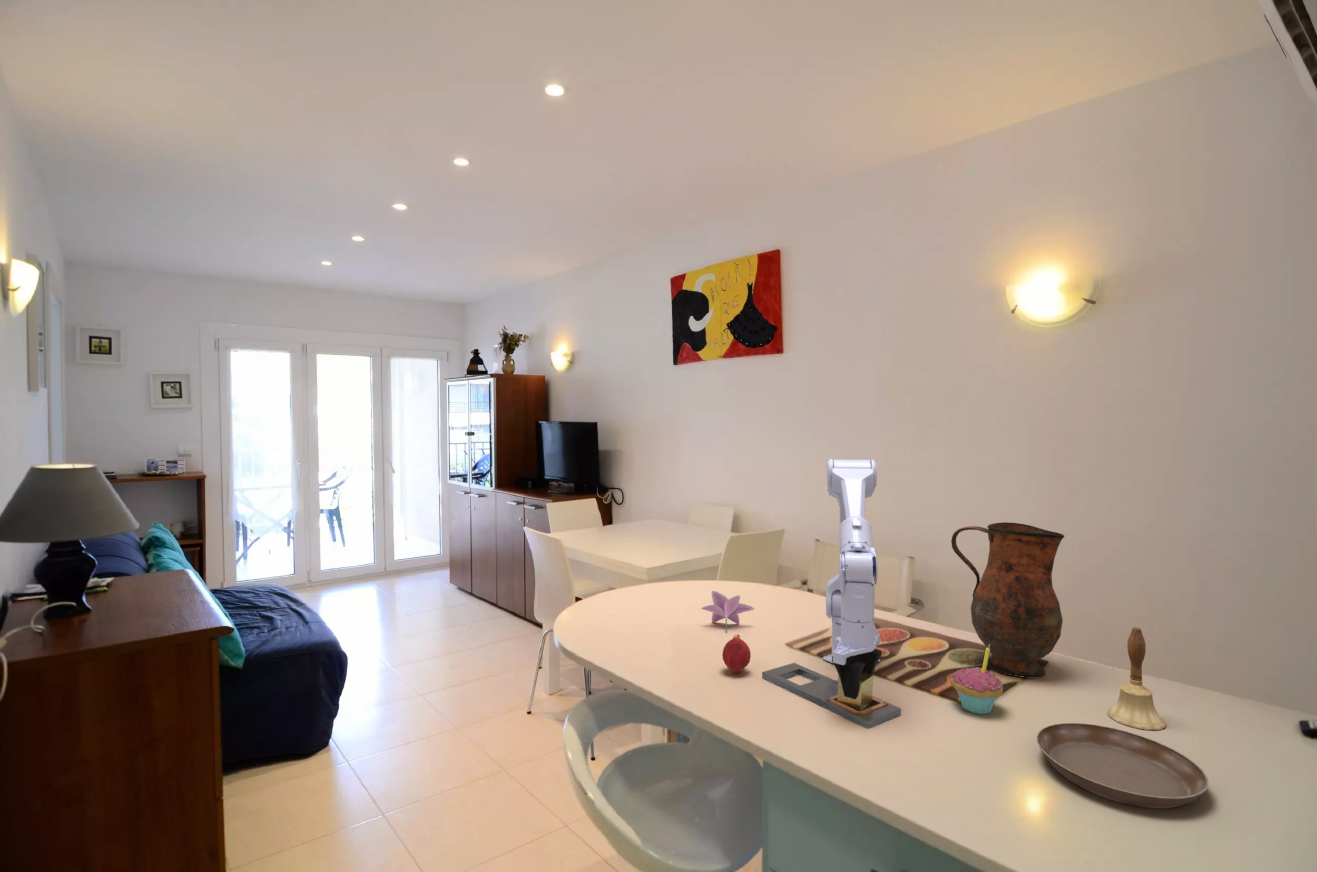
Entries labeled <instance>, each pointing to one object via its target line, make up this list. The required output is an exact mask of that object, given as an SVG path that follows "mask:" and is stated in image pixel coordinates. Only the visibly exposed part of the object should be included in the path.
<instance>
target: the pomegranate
mask: <svg viewBox="0 0 1317 872" xmlns="http://www.w3.org/2000/svg"><path fill="white" fill-rule="evenodd" d="M751 654H752V653H751V649H750V646H749V645H748V644H747V643H746V642H745V641H744V640H743V639H741V635H740V634H739V633H736V634H734V636H733V637H732V639H730V640H728V641H727V642H726V643H725V645H724V646H723V649H722V654H721V655H722V660H723V663H724V664H725V666H726V667H727V668H728V669H729V670H731V671H732V672H733V673H735V674H738V673H740V672H741V671H742V670H744V669H745V668H747V666H748V665H749V663H750V661H751V657H752V656H751Z"/></svg>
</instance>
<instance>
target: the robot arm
mask: <svg viewBox="0 0 1317 872" xmlns="http://www.w3.org/2000/svg"><path fill="white" fill-rule="evenodd" d="M877 467H878V466H877V461H875V460H874V459H873V458H872V459H871V458H870V459H833V458H829V460H828V461H827V462H826V485H827V492H828V496H830V497H833V498H835V499H836V500H837V503H838V507H839V556H838V573H837V574H836V575H835V576H833V577H832V578H830V579H829V580H827V583H826V590H825V616H826V617H827V619H831V654H828V655H826V656H825V655H824V656H823V657H822V659H823V660H824V661H826V662H828V663H831V664H833V666H834V667H835V670H836V671H837V674H838V676H839V677H840V680H841V684H842V688H843V692H844V696H845V697H848V698H852V699H856V698H857V694H858V689H859V681H860V676H861V673H862V671H863V672H866V673H869V674H872V675H873V676H874V673H875V670H876V667H877V664H878V663H879V662H881V659H880V658H881V657H882V655H883V654H882V653H883V651H882V650H881V649H878V646H879V645H880V644H881V643H880V642H881V634H880V633H878V631H877V628H876V625H875V586H876V585H877V583H878V577H879V564H878V563H879V562H878V556H877V553H876V548H875V547H874V543H873V533H872V532H873V531H872V525H871V523H870V522H869V520H867V519H865V503H866V500H865V499H869V498H871V497H873V495H874V494H873V493H875V490H876V487H877V481H878V468H877ZM873 582H874V583H873Z"/></svg>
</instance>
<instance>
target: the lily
mask: <svg viewBox="0 0 1317 872" xmlns="http://www.w3.org/2000/svg"><path fill="white" fill-rule="evenodd" d="M711 599H712V602H713V603H712V604H708V605H705V606H702V607H701V608H700V609H701V610H703V611H707V612H710V613H712V615H711V623H716V622H719V621H721V620H724V619H725V633H726V634H728V622H727V621H728V620H729V621H731V622H732V623H735V624H737V625H739V624H740V617H739V614H743V613H746V612H751V611H754V610H755V608H754V607H753V606H752V605H748V604H746V603H742V602H741V603H740V600H741V595H735V596H732V597H730V598H729V599H728V598H727V596H725V595H724V594H722V593H720V592H718V591H715V590H712V591H711Z"/></svg>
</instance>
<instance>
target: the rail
mask: <svg viewBox="0 0 1317 872" xmlns="http://www.w3.org/2000/svg"><path fill="white" fill-rule="evenodd" d="M761 676H762V677H761V678H762V679H764V680H766V681H768V682H770V683H772V684H774V685H776V686H778V687H781V689H784V690H787V691H789V692H791V693H793V694H795V695H797V696H799V697H801V698H803V699H806V700H808V701H810V702H812V703H814V704H816V705H818V706H820V707H822V708H824V709H826V710H829V711H830V712H832V713H834V714H837V715H838V716H841V717H842V718H845V719H847V720H848V721H851V722H853V723H855V724H858V725H859V726H861V727H864V728H866V729H869V728H872V727H875V726H877V725H880V724H882V723H884V722H887V721H889V720H892V719H894V718H897V717H899V716H902V715H901V714H902V708H901V707H899V706H896V705H895V704H892V703H890V702H887V701H885V700H882V699H881V698H878V697H875V696H873V695H872V702H871V703H869V704H868V705H867V706H869V707H868V708H866V709H862V710H858V709H855V708H853V707H850V706H848V705H845V704H842V703H840V702H837V696H838V680H836V679H833V678H831V677H828V676H826V675H823V674H821V673H819V672H816V671H814V670H812V669H810V668H807V667H804V666H803V665H800V664H799V663H798V664H797V663H795V662H793V663H788V664H785V665H781V666H778V667H774V668H772V669H768V670H764V671H762V672H761ZM797 676H801V677H804V678H806V679H808V680H810V681H809V682H806V683H803V684H801V685H800V684H798V683H796V682H793V681H791V680H789V678H793V677H797Z"/></svg>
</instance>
